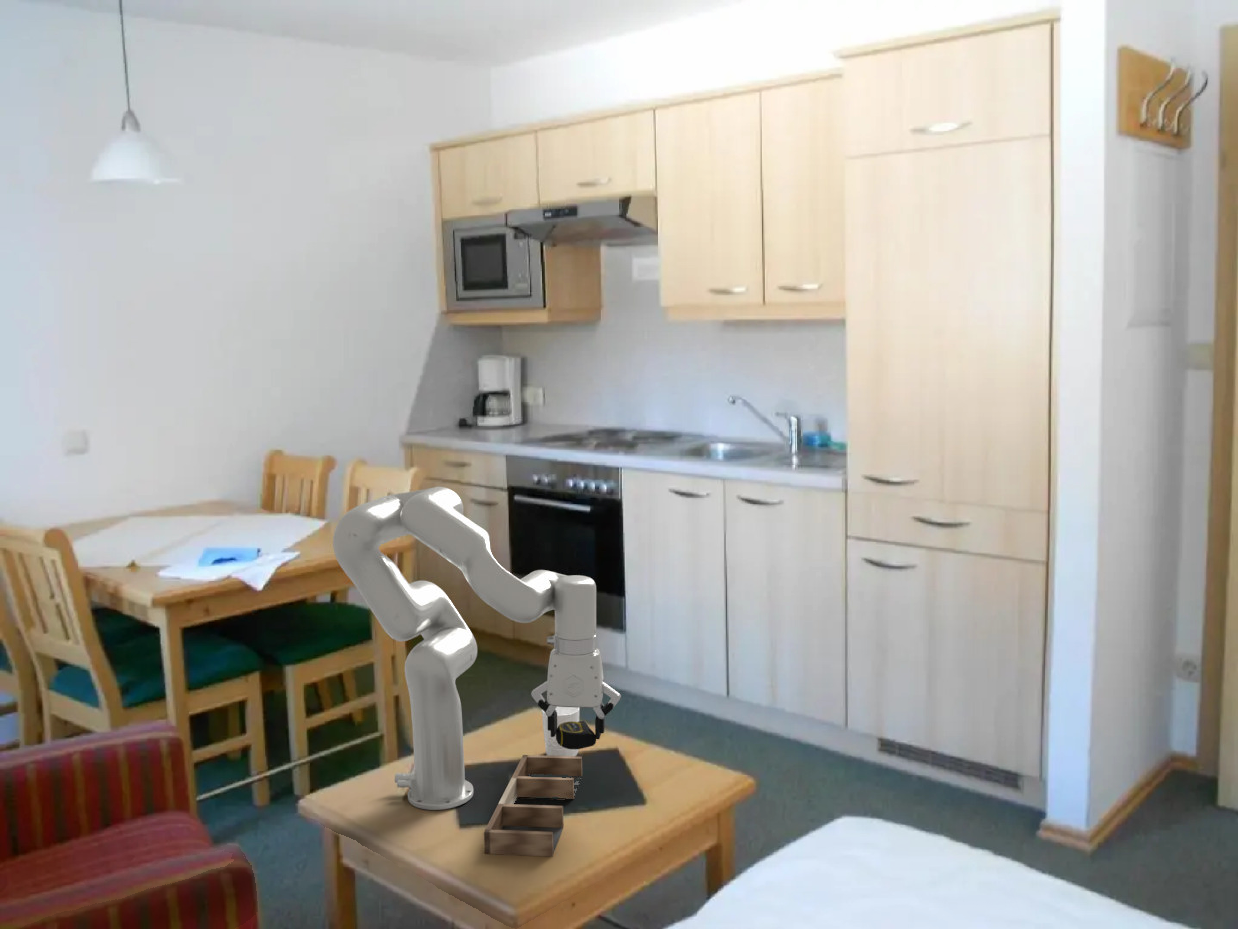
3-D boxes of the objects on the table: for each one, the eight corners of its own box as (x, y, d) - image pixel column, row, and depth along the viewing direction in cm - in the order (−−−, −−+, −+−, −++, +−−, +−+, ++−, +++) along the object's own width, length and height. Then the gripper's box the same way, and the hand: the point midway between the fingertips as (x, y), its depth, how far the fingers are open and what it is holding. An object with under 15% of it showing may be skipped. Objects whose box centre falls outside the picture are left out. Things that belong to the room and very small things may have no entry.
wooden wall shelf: (484, 853, 198) (483, 832, 198) (523, 773, 231) (523, 755, 230) (552, 856, 197) (551, 834, 196) (582, 775, 229) (581, 756, 229)
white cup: (539, 749, 243) (537, 704, 241) (575, 744, 245) (573, 699, 244) (548, 763, 235) (546, 717, 234) (585, 758, 238) (583, 712, 236)
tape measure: (597, 751, 209) (597, 732, 209) (560, 755, 207) (561, 735, 207) (587, 736, 216) (587, 718, 215) (552, 740, 214) (552, 721, 213)
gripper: (524, 648, 205) (525, 741, 208) (620, 652, 203) (620, 746, 206) (532, 635, 212) (533, 725, 215) (625, 639, 210) (625, 729, 213)
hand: (576, 734), depth 211 cm, fingers closed on tape measure, 7 cm apart
